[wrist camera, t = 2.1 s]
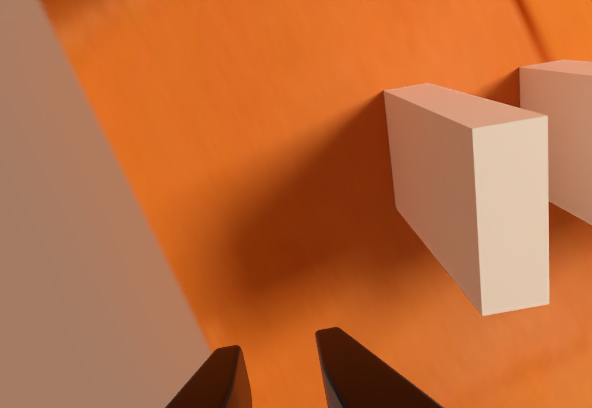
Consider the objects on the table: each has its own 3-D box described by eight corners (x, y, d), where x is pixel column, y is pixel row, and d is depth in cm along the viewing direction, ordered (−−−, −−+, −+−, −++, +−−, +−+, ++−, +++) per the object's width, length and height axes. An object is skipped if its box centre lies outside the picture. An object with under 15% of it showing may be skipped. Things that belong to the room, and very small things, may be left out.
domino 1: (428, 82, 21) (547, 115, 12) (437, 201, 22) (549, 303, 14) (383, 90, 21) (472, 128, 12) (395, 208, 22) (482, 315, 14)
